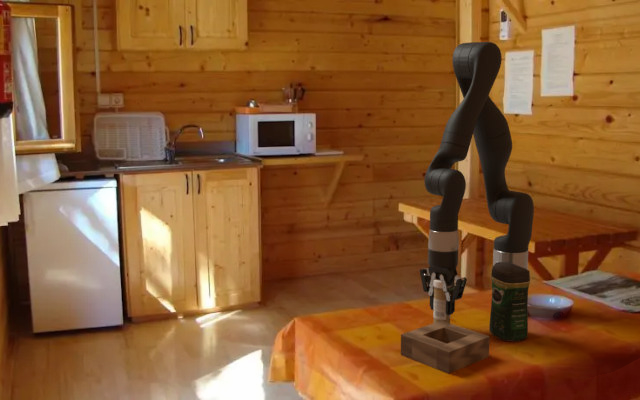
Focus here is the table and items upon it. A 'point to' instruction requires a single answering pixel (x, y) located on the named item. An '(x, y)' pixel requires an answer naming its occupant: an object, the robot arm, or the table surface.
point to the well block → (445, 346)
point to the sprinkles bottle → (440, 303)
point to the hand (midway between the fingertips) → (441, 311)
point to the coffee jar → (509, 301)
